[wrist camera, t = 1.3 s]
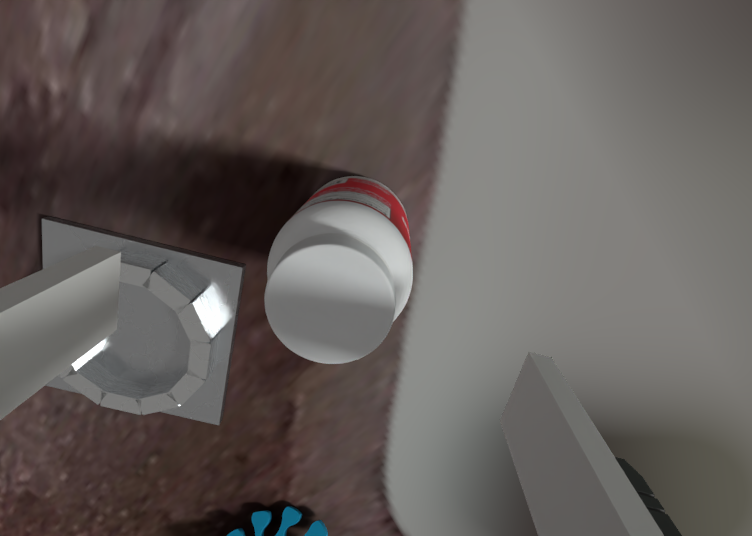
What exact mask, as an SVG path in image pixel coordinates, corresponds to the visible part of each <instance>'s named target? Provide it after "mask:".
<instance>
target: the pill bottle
mask: <svg viewBox="0 0 752 536" xmlns="http://www.w3.org/2000/svg"><path fill="white" fill-rule="evenodd" d="M267 276H268V282H267V285H266V290H265V310H266V315H267V318H268V321H269V323H270V325H271V327H272V329H273V331H274V333H275V334H276V336H277V337H278V338H279V339H280V340H281V342H282V343H283V344H284V345H285V346H286V347H288V348H289V349H290V350H292V351H293V352H295V353H296V354H298V355H299V356H302V357H304V358H306V359H308V360H312V361H315V362H319V363H325V364H341V363H347V362H351V361H354V360H357V359H360V358H362V357H364V356H366V355H367V354H369V353H370V352H372V351H373V350H374V349H376V348H377V347H378V346H379V345H380V344H381V343H382V341H383V340H384V339H385V337H386V336H387V334H388V332H389V330H390V328H391V326H392V323H393V321H394V320H395V319H396V318H397V317H398V315H399V314H400V313H401V311H402V310H403V308H404V306H405V304H406V302H407V300H408V298H409V295H410V291H411V287H412V281H413V264H412V255H411V246H410V235H409V226H408V220H407V216H406V213H405V210H404V208H403V205H402V204H401V202H400V200H399V199H398V198H397V196H396V195H395V194H394V193H393V192H392V191H391V190H390V189H389V188H387V187H386V186H385V185H383V184H381V183H380V182H378V181H376V180H373V179H370V178H366V177H360V176H348V177H342V178H338V179H335V180H333V181H331V182H329V183H327V184H325V185H324V186H322V187H321V188H320V189H319V190H317V191H316V192H315V193H314V194H313V195H312V196H311V197H310V198H309V200H308V201H307V202H306V203H305V204H304V205H303V206H302V207H301V208H300V209H299V210H298V211H297V212H296V213H295V214H294V215H293V216H292V217H291V218H290V219H289V220H288V221H287V222H286V224H285V225H284V226H283V227H282V229H281V230H280V232H279V233H278V235H277V236H276V238H275V240H274V242H273V245H272V247H271V250H270V253H269V258H268V264H267Z"/></svg>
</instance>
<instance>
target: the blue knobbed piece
mask: <svg viewBox="0 0 752 536" xmlns="http://www.w3.org/2000/svg"><path fill="white" fill-rule="evenodd" d="M301 518H302V513H301V512H300V511H299V510H298V509H296V508H294V507H292V506H288V507H286V508H285V509H284V511H283V514H282V523H281V526H280V529H279V531H278V532H277V534H276V535H275V536H286V532H287V529H288V528H289V527H290V526H292V525H294V524H296V523H298V522H299V521H300V520H301ZM271 519H272V513H271V511H266V510H265V511H259V512H254V513H253V515H252V524H253V526H254V529H255V536H264V530H265V528H266V527H267V526H268V525H269V523H270V522H271ZM327 535H328V532H327V529H326V527H325V525H324V523H323V522H322V521H321V520H318V521H316V522H314V523H313V524H312V525H311V527H310V529H309V530H308V532H307V533H306V534H305V535H304V536H327ZM227 536H245V532H244V530H243V529H242V528H239V529H236V530H234V531H232V532H230V533H229V534H228V535H227Z"/></svg>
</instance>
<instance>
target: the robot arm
mask: <svg viewBox="0 0 752 536" xmlns="http://www.w3.org/2000/svg"><path fill="white" fill-rule="evenodd" d="M120 261H121V252H120V251H115V250H111V249H107V248H103V247H99V246H95V247H92V248H90V249H88V250H86V251H83V252H81V253H79V254H77V255H74V256H72V257H70V258H68V259H65V260H63V261H61V262H59V263H56V264H54V265H52V266H50V267H47V268H45V269H43V270H41V271H38V272H36V273H34V274H32V275H29V276H27V277H25V278H23V279H20V280H18V281H16V282H14V283H11V284H9V285H7V286H5V287H2V288H0V420H1V419H2V418H3V417H5V416H6V415H7V414H9V413H10V412H11V411H12V410H14V409H15V408H16V407H18V406H19V405H20V404H21V403H23V402H24V401H25V400H27V399H28V398H29V397H30V396H32V395H33V394H34V393H36V392H37V391H38V390H39V389H41V388H42V387H43V386H45V385H46V384H47V383H48V382H50V381H51V380H52V379H54V378H55V377H56V376H58V375H59V374H60V373H61V372H63V371H64V370H65V369H67V368H68V367H69V366H70V365H72V364H73V363H74V362H76V361H77V360H78V359H79V358H81V357H82V356H83V355H85V354H86V353H87V352H88V351H90V350H91V349H92V348H94V347H95V346H96V345H97V344H99V343H100V342H101V341H103V340H104V339H105V338H106V337H108V336H109V335H110V334H112V333H113V332H114V331H115V330H117V317H118V299H119V280H120ZM500 422H501V425H502V428H503V431H504V434H505V437H506V440H507V443H508V446H509V449H510V452H511V455H512V458H513V461H514V464H515V467H516V470H517V473H518V476H519V479H520V482H521V485H522V488H523V491H524V494H525V497H526V500H527V503H528V506H529V509H530V512H531V515H532V518H533V521H534V524H535V527H536V530H537V533H538V536H682V535H681V534H680V532H679V531H678V529H677V528H676V526H675V525H674V523H673V522H672V520H671V519H670V517H669V516H668V515H667V514H665V510H664V508H663V507H662V505H661V504H660V502H659V501H658V499H655V498H654V494H653V492H652V491H651V489H650V488H649V486H648V485H647V483H646V482H645V480H644V479H643V477H642V476H641V475H640V474H639V473H638V472H637V471H636V470H635V469H634V468H633V467H632V466H630V465H629V464H628V463H627V462H626V461H625V460H624V459H621V458H617V457H614V456H613V454H612V452H611V451H610V449H609V448H608V446H607V445H606V443H605V441H604V440H603V438H602V436H601V435H600V433H599V432H598V430H597V429H596V427H595V425H594V424H593V422H592V421H591V419H590V417H589V416H588V414H587V413H586V411H585V410H584V408H583V406H582V405H581V403H580V402H579V400H578V399H577V397H576V395H575V394H574V392H573V391H572V389H571V388H570V386H569V384H568V383H567V381H566V379H565V378H564V376H563V375H562V373H561V372H560V370H559V368H558V367H557V365H556V364H555V362H554V361H553V359H552V357H548V356H544V355H540V354H536V353H531V352H528V355H527V357H526V359H525V362H524V364H523V367H522V369H521V371H520V374H519V376H518V379H517V381H516V383H515V386H514V388H513V391H512V393H511V396H510V398H509V400H508V403H507V405H506V407H505V410H504V412H503V414H502V417H501V419H500Z"/></svg>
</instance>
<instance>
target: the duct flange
mask: <svg viewBox="0 0 752 536" xmlns="http://www.w3.org/2000/svg"><path fill="white" fill-rule="evenodd" d="M95 246H99V247H103V248H107V249H111V250H115V251H120V252H121V261H120V280H119V299H118V317H117V330H115V331H114V332H113V333H112V334H110V335H109V336H108V337H106V338H105V339H104V340H103V341H101V342H100V343H99V344H97V345H96V346H95V347H94V348H92V349H91V350H90V351H88V352H87V353H86V354H85V355H83V356H82V357H81V358H79V359H78V360H77V361H76V362H74V363H73V364H72V365H70V366H69V367H68V368H67V369H65V370H64V371H63V372H61V373H60V374H59V375H58V376H56V377H55V378H54V379H52V380H51V381H50V382H48V383H47V384H46V386H50V387H54V388H59V389H63V390H68V391H72V392H76V393H81V394H84V395H85V396H86V397H88V398H89V399H91V400H92V401H93V402H95V403H96V404H99V403H100V402H101V406H104V407H108V408H112V409H117V410H121V411H125V412H130V413H134V414H139V415H141V414H143V415H145V414H150V413H154V412H163V413H168V414H172V415H176V416H181V417H185V418H189V419H194V420H198V421H202V422H207V423H211V424H215V425H219V424H220V423H221V421H222V418H223V411H224V405H225V398H226V391H227V385H228V378H229V372H230V365H231V359H232V352H233V346H234V339H235V332H236V326H237V319H238V313H239V306H240V300H241V293H242V287H243V280H244V273H245V267H246V264H242V263H238V262H234V261H229V260H225V259H221V258H217V257H213V256H209V255H205V254H201V253H197V252H193V251H189V250H185V249H181V248H177V247H172V246H168V245H164V244H160V243H156V242H152V241H148V240H144V239H140V238H136V237H132V236H128V235H124V234H120V233H116V232H111V231H107V230H103V229H99V228H95V227H91V226H87V225H83V224H79V223H75V222H71V221H67V220H63V219H59V218H55V217H50V216H48V217H45V218H42V254H43V269H45V268H47V267H50V266H52V265H54V264H56V263H59V262H61V261H63V260H65V259H68V258H70V257H72V256H74V255H77V254H79V253H81V252H83V251H86V250H88V249H90V248H92V247H95Z"/></svg>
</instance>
